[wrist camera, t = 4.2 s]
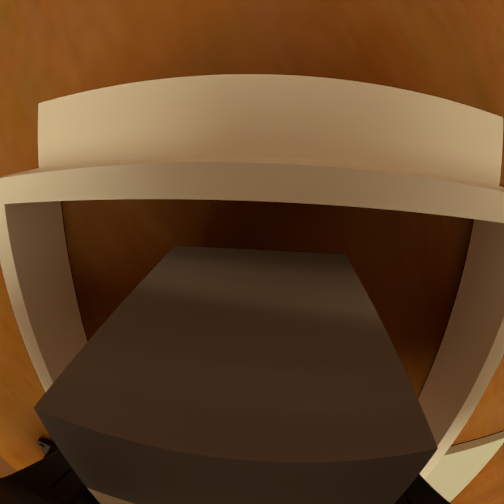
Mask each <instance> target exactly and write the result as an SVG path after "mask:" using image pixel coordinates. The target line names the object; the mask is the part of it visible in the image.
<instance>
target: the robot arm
mask: <svg viewBox="0 0 504 504" xmlns="http://www.w3.org/2000/svg"><path fill="white" fill-rule="evenodd" d="M37 443H38V444H39V446H40V447H41V449H42V450H43V451H44V453H45V456H44V458H43V459H42V460H40V461H38V462H36V463H34V464H32V465H30V466H28V467H26V468H24V469H22V470H19V471H17V472H15V473H13V474H11V475H9V476H6V477H3V478H0V504H100V503H99V502H98V500H97V499H96V498H95V497H94V496H93V494H92V493H91V492H90V491H89V489H88V488H87V487H86V486H85V484H84V483H83V482H82V481H81V479H80V478H79V477H78V475H77V474H76V473H75V471H74V470H73V468H72V467H71V466H70V464H69V463H68V461H67V460H66V459H65V457H64V456H63V454H62V453H61V451H60V450H59V448H58V447H57V445H56V444H54V443H52V442H49V441H47V440H45V439H43V438H39V439H38V441H37ZM394 504H451V503H450V502H448V501H447V500H446V499H445V498H444V497H443V496H441V495H440V494H439V493H438V492H437V491H436V490H435V489H434V488H433V487H432V486H431V485H430V484H429V483H428V482H427V481H426V480H425V479H424V478H423V477H422V476H421V475H420V474H419V475H418V476H417V477H416V479H415V480H414V481H413V482H412V484H411V485H410V486H409V487H408V488H407V490H406V491H405V492H404V493H403V494H402V495H401V497H400V498H399V499H398V500H397V501H396V502H395V503H394Z"/></svg>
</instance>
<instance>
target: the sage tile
mask: <svg viewBox="0 0 504 504" xmlns="http://www.w3.org/2000/svg"><path fill="white" fill-rule="evenodd" d="M503 443H504V431H502V432H500V433H497V434H493V435H490V436H487V437H484V438H480V439H477V440H473V441H470V442H466V443H462V444H458V445H454V446H450V447H449V449H448V450H447V452H446V453H445V454H444V456H443V457H442V458H441V460H440V461H439V462H438V464H437V465H436V466H435V467H434V469H433V470H432V471H431V473H430V474H429V475H428V476H427V477H426V479H425V480H426V481H427V482H428V483H429V484H430V485H431V486H432V487H433V488H434V489H435V490H436V491H437V492H438V493H439V494H440V495H441V496H443V497H444V498H445V499H446V500H447V501H448V502H450V501H451V500H452V499H453V498H454V497H455V496H456V495H458V494H459V493H460V492H461V491H462V490H463V489H464V488H465V486H466V485H467V484H468V483H469V482H470V481H471V480H472V479H473V478H474V477H475V476H476V475H477V474H478V473H479V472H480V470H481V469H482V468H483V467H484V466H485V465H486V464H487V462H488V461H489V460H490V459H491V458H492V456H493V455H494V454H495V453H496V452H497V450H498V449H499V448H500V447H501V445H502V444H503Z"/></svg>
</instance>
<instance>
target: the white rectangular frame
mask: <svg viewBox="0 0 504 504" xmlns="http://www.w3.org/2000/svg"><path fill="white" fill-rule="evenodd" d="M502 146H503V117H500V116H498V115H495V114H492V113H489V112H486V111H483V110H480V109H477V108H474V107H471V106H467V105H464V104H461V103H457V102H454V101H450V100H447V99H443V98H439V97H435V96H431V95H427V94H423V93H418V92H414V91H409V90H404V89H399V88H394V87H389V86H383V85H377V84H371V83H364V82H357V81H350V80H342V79H333V78H323V77H311V76H296V75H274V74H225V75H202V76H188V77H176V78H166V79H157V80H149V81H142V82H135V83H128V84H122V85H116V86H110V87H105V88H100V89H95V90H90V91H85V92H81V93H76V94H72V95H68V96H64V97H60V98H56V99H53V100H49V101H45V102H42V103H39V105H38V160H39V168H37V169H33V170H28V171H23V172H19V173H15V174H10V175H6V176H2V177H0V263H1V267H2V271H3V276H4V280H5V283H6V287H7V291H8V294H9V298H10V301H11V305H12V308H13V311H14V314H15V317H16V321H17V324H18V326H19V329H20V332H21V335H22V338H23V341H24V343H25V346H26V348H27V351H28V354H29V356H30V359H31V361H32V363H33V366H34V368H35V370H36V373H37V375H38V377H39V380H40V382H41V384H42V386H43V388H44V390H45V392H47V390H48V389H49V388H50V387H51V385H52V384H53V383H54V382H55V380H56V379H57V378H58V377H59V375H60V374H61V373H62V372H63V370H64V369H65V368H66V367H67V366H68V364H69V363H70V362H71V361H72V359H73V358H74V357H75V356H76V355H77V353H78V352H79V351H80V350H81V349H82V348H83V346H84V345H85V344H86V343H87V338H86V335H85V331H84V327H83V324H82V320H81V316H80V312H79V307H78V303H77V299H76V294H75V290H74V285H73V280H72V275H71V270H70V264H69V259H68V253H67V246H66V240H65V233H64V225H63V217H62V208H61V201H74V200H112V199H199V200H239V201H266V202H287V203H306V204H322V205H337V206H351V207H364V208H376V209H387V210H398V211H408V212H418V213H427V214H436V215H445V216H454V217H462V218H470V219H474V222H473V228H472V233H471V238H470V243H469V248H468V253H467V257H466V262H465V266H464V270H463V274H462V278H461V282H460V286H459V289H458V293H457V296H456V300H455V303H454V306H453V310H452V313H451V316H450V319H449V322H448V325H447V328H446V331H445V334H444V337H443V340H442V342H441V345H440V348H439V350H438V353H437V356H436V358H435V361H434V363H433V366H432V368H431V371H430V373H429V375H428V378H427V380H426V382H425V385H424V387H423V389H422V391H421V393H420V396H419V398H418V400H419V403H420V405H421V407H422V410H423V412H424V415H425V417H426V419H427V422H428V424H429V427H430V429H431V432H432V434H433V437H434V439H435V442H436V445H437V447H438V449H437V451H436V452H435V453H434V455H433V456H432V458H431V459H430V460H429V462H428V463H427V464H426V466H425V467H424V468H423V470H422V471H421V472H420V475H421V476H422V477H423V478H424V479H426V477H427V476H428V475H429V474H430V473H431V471H432V470H433V469H434V467H435V466H436V465H437V464H438V462H439V461H440V460H441V458H442V457H443V456H444V454H445V453H446V452H447V450H448V449H449V447H450V446H451V445H452V443H453V442H454V440H455V439H456V437H457V436H458V435H459V433H460V432H461V430H462V429H463V427H464V425H465V424H466V422H467V421H468V419H469V418H470V416H471V414H472V413H473V411H474V409H475V408H476V406H477V404H478V403H479V401H480V399H481V397H482V396H483V394H484V392H485V390H486V388H487V387H488V385H489V383H490V381H491V379H492V377H493V375H494V373H495V371H496V369H497V367H498V365H499V363H500V361H501V359H502V357H503V354H504V187H502V186H499V183H500V174H501V162H502Z"/></svg>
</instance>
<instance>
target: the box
mask: <svg viewBox="0 0 504 504" xmlns="http://www.w3.org/2000/svg"><path fill="white" fill-rule="evenodd" d="M34 409H35V410H36V412H37V414H38V416H39V417H40V419H41V421H42V423H43V424H44V426H45V428H46V429H47V431H48V433H49V434H50V436H51V437H52V439H53V441H54V442H55V444H56V445H57V447H58V448H59V450H60V451H61V453H62V454H63V456H64V457H65V459H66V460H67V461H68V463H69V464H70V466H71V467H72V468H73V470H74V471H75V473H76V474H77V475H78V477H79V478H80V479H81V481H82V482H83V483H84V484H85V486H86V487H87V488H88V489H89V491H90V492H91V493H92V494H93V496H94V497H95V498H96V499H97V500H98V502H99V503H100V504H394V503H395V502H396V501H397V500H398V499H399V498H400V497H401V495H402V494H403V493H404V492H405V491H406V490H407V488H408V487H409V486H410V485H411V484H412V482H413V481H414V480H415V479H416V477H417V476H418V475H419V474H420V472H421V471H422V470H423V468H424V467H425V466H426V464H427V463H428V462H429V460H430V459H431V458H432V456H433V455H434V453H435V452H436V451H437V449H438V447H437V445H436V442H435V439H434V437H433V434H432V432H431V429H430V427H429V424H428V422H427V419H426V417H425V415H424V412H423V410H422V407H421V405H420V403H419V400H418V398H417V396H416V393H415V391H414V389H413V387H412V384H411V382H410V380H409V378H408V375H407V373H406V371H405V369H404V367H403V365H402V362H401V360H400V358H399V356H398V354H397V352H396V350H395V348H394V346H393V343H392V341H391V339H390V337H389V335H388V333H387V331H386V329H385V327H384V325H383V323H382V321H381V319H380V317H379V315H378V313H377V311H376V309H375V307H374V306H373V304H372V302H371V300H370V298H369V296H368V294H367V292H366V290H365V288H364V287H363V285H362V283H361V281H360V279H359V277H358V275H357V274H356V272H355V270H354V268H353V266H352V264H351V263H350V261H349V259H348V257H347V256H346V254H334V253H314V252H294V251H274V250H254V249H234V248H213V247H193V246H174V247H173V248H172V249H171V250H170V251H169V252H168V253H167V254H166V255H165V256H164V258H163V259H162V260H161V261H160V262H159V263H158V264H157V265H156V266H155V267H154V268H153V269H152V270H151V271H150V272H149V273H148V275H147V276H146V277H145V278H144V279H143V280H142V281H141V282H140V283H139V284H138V285H137V286H136V287H135V289H134V290H133V291H132V292H131V293H130V294H129V295H128V296H127V297H126V298H125V300H124V301H123V302H122V303H121V304H120V305H119V306H118V307H117V308H116V310H115V311H114V312H113V313H112V314H111V315H110V316H109V317H108V319H107V320H106V321H105V322H104V323H103V324H102V325H101V327H100V328H99V329H98V330H97V331H96V332H95V334H94V335H93V336H92V337H91V338H90V339H89V341H88V342H87V343H86V344H85V345H84V346H83V348H82V349H81V350H80V351H79V352H78V353H77V355H76V356H75V357H74V358H73V359H72V361H71V362H70V363H69V364H68V366H67V367H66V368H65V369H64V370H63V372H62V373H61V374H60V375H59V377H58V378H57V379H56V380H55V382H54V383H53V384H52V385H51V387H50V388H49V389H48V390H47V392H46V393H45V394H44V395H43V397H42V398H41V399H40V400H39V402H38V403H37V404H36V406H35V407H34Z"/></svg>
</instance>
